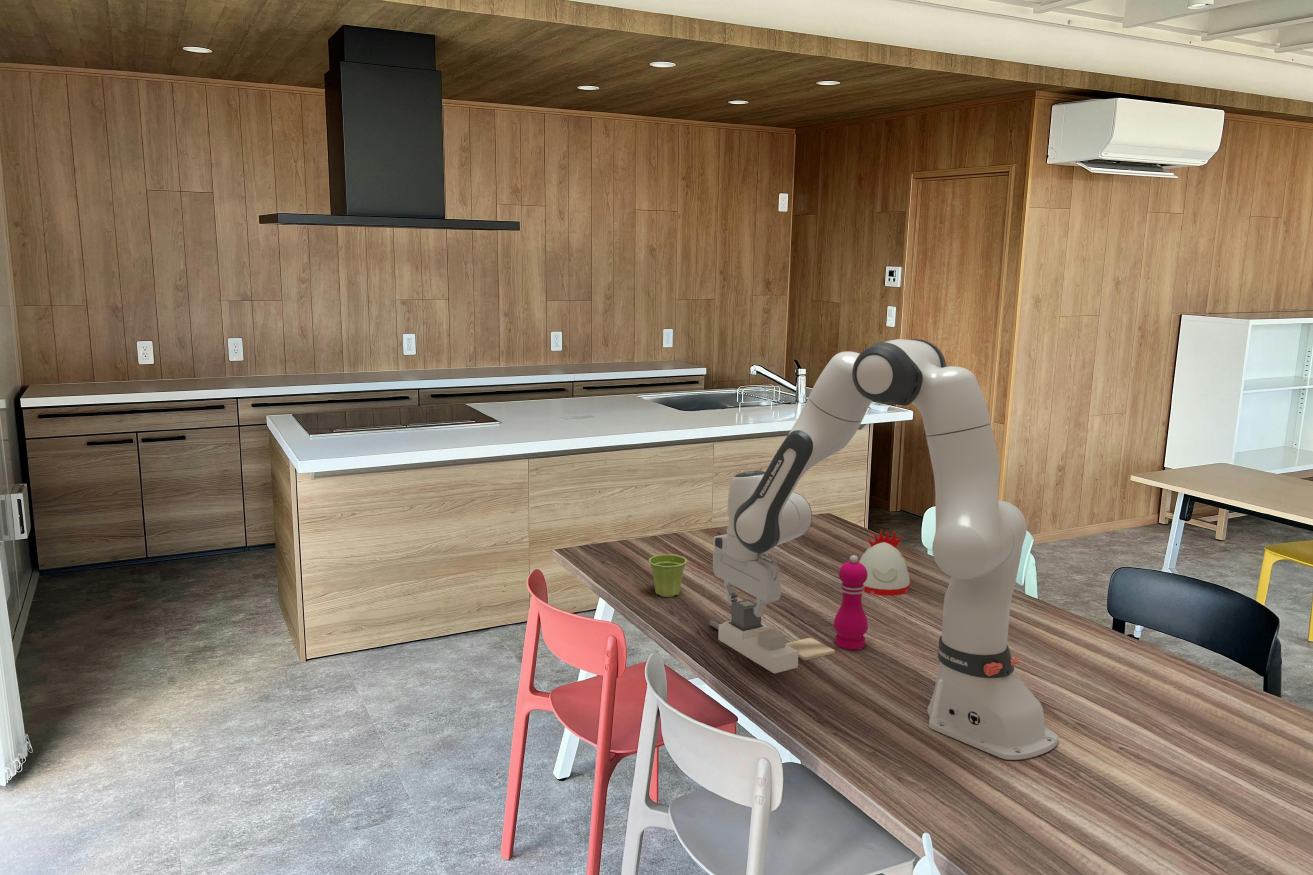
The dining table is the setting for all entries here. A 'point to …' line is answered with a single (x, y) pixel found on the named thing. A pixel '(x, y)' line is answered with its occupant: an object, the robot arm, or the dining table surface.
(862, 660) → the dining table surface
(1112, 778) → the dining table surface
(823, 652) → the coaster
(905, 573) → the kitchen timer
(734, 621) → the block
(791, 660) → the power strip
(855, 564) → the pepper mill
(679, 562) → the plant pot
